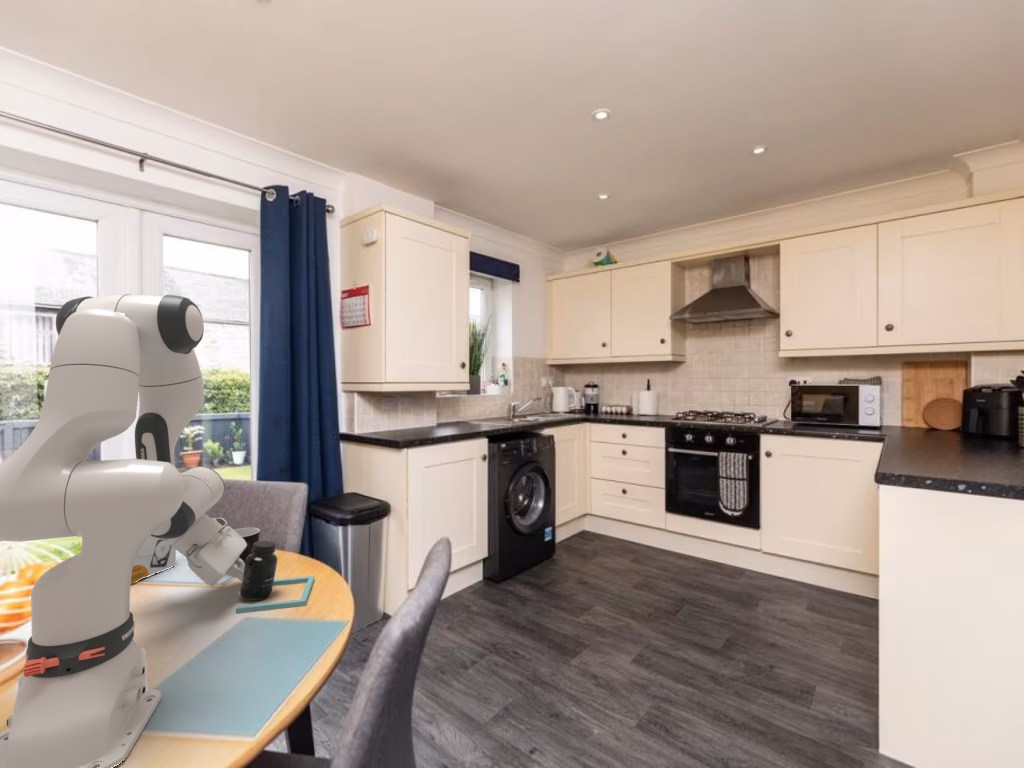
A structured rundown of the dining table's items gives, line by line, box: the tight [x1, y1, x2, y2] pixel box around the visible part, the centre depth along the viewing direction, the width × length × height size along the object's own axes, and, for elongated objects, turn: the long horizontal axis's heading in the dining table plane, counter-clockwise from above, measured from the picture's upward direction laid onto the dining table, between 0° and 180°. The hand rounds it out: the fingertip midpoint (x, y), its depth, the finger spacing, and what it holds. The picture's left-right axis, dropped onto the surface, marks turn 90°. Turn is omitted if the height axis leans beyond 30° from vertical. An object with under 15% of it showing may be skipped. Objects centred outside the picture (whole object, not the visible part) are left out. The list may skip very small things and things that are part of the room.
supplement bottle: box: [239, 540, 278, 601], centre depth 114 cm, size 7×7×12 cm
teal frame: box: [235, 575, 315, 614], centre depth 115 cm, size 14×14×1 cm
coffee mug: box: [233, 527, 261, 564], centre depth 128 cm, size 12×9×10 cm
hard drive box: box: [131, 536, 177, 585], centre depth 126 cm, size 16×8×20 cm, turn 168°
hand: (247, 576), depth 113 cm, fingers closed, pressing on supplement bottle
